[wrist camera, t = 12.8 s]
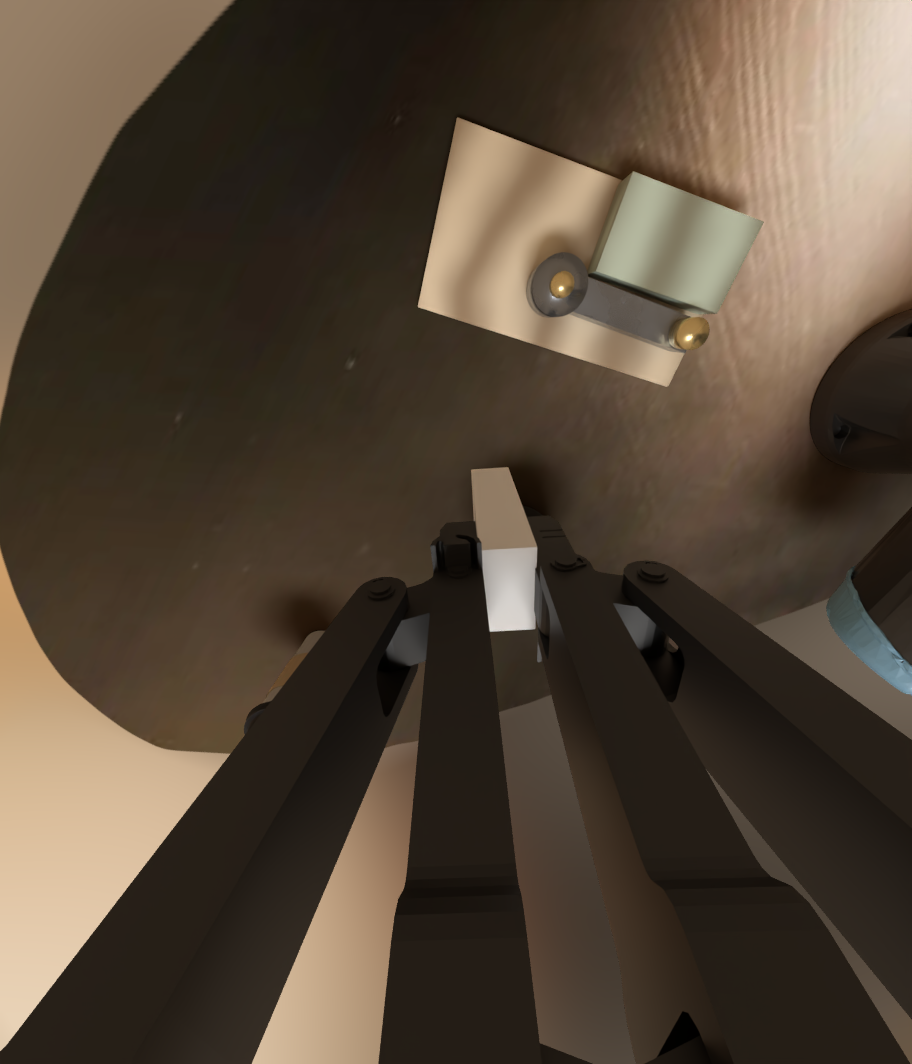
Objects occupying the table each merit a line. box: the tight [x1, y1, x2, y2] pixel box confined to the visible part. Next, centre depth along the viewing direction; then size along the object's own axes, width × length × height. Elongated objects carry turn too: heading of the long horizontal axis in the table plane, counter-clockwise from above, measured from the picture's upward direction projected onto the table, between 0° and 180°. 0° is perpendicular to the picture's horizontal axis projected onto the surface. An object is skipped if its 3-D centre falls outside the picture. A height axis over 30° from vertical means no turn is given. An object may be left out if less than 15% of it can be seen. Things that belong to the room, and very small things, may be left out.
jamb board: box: [418, 117, 764, 387], centre depth 34 cm, size 25×13×4 cm, turn 74°
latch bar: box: [526, 252, 709, 353], centre depth 34 cm, size 15×4×5 cm, turn 73°
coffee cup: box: [244, 631, 325, 735], centre depth 49 cm, size 9×9×15 cm
